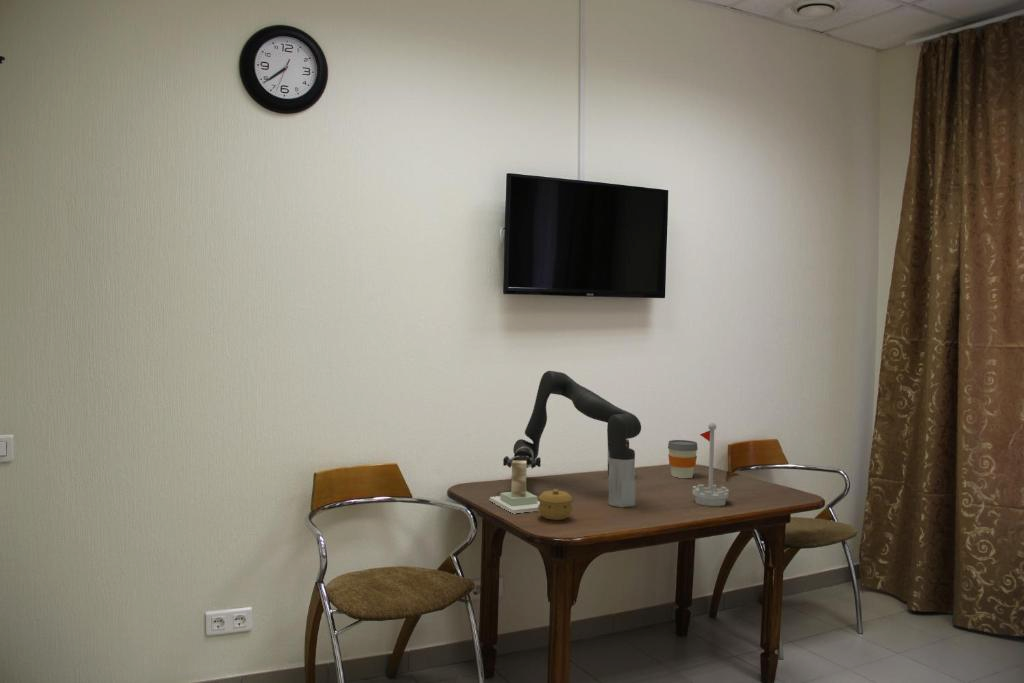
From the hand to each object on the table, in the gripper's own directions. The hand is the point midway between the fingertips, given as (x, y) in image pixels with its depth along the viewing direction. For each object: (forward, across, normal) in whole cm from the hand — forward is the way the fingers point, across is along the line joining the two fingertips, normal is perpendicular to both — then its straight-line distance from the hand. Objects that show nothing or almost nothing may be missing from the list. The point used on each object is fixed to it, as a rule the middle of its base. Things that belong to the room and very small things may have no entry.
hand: (521, 465), depth 288 cm
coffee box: (-44, +39, +13) cm, 60 cm away
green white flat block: (+11, 0, +12) cm, 17 cm away
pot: (+26, +14, +13) cm, 32 cm away
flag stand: (-4, +71, +13) cm, 72 cm away
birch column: (+11, 0, +8) cm, 14 cm away
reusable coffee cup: (-49, +67, +13) cm, 84 cm away
